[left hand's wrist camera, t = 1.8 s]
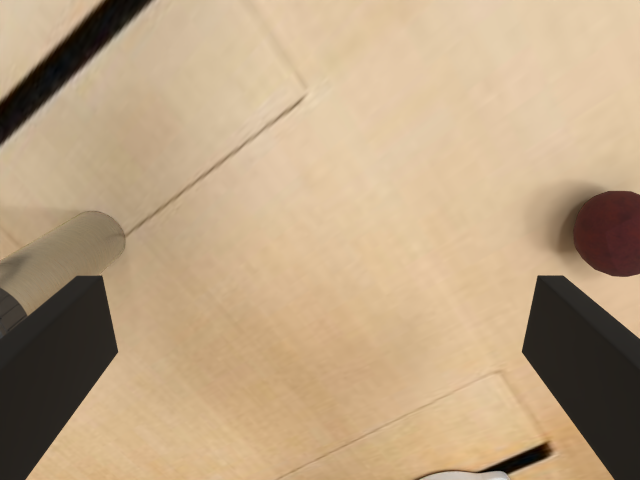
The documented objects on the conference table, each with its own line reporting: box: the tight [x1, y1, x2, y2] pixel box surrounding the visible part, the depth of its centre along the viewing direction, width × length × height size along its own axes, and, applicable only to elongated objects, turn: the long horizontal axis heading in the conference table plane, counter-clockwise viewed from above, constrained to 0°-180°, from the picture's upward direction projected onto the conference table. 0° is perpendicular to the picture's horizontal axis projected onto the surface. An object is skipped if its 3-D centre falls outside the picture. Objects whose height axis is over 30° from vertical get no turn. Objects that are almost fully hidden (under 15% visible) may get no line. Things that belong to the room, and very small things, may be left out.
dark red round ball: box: [573, 191, 640, 277], centre depth 38 cm, size 7×8×7 cm
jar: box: [0, 211, 125, 316], centre depth 34 cm, size 5×5×17 cm
